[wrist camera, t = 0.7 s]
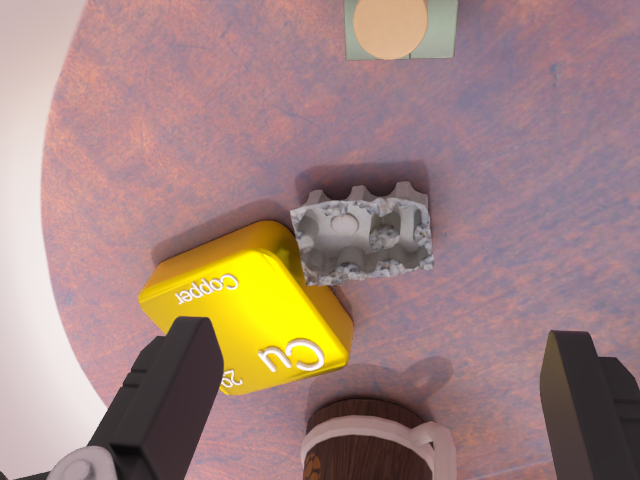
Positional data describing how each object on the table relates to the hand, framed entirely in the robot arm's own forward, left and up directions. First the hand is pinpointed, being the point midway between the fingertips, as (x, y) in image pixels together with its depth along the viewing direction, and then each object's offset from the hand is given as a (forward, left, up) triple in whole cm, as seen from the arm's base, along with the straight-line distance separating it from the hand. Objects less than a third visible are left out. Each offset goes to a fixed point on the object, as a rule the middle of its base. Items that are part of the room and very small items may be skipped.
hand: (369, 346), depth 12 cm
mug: (+32, +26, -26) cm, 49 cm away
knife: (-4, -3, -26) cm, 27 cm away
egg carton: (+12, +7, -26) cm, 30 cm away
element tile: (+26, +5, -26) cm, 37 cm away
